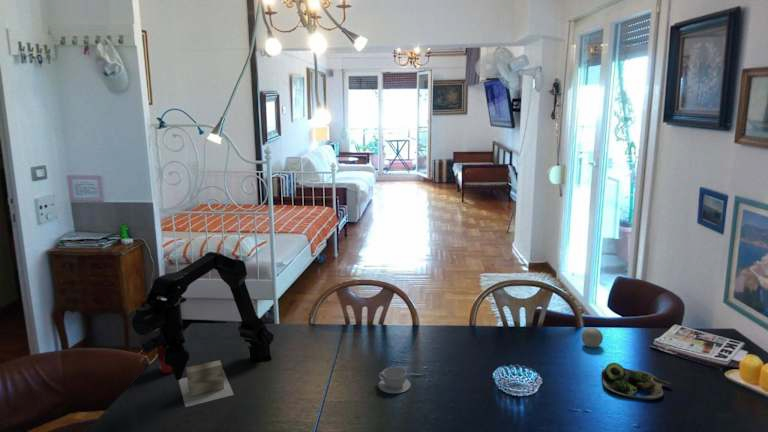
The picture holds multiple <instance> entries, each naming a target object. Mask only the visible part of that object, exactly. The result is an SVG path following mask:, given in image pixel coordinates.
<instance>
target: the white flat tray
mask: <svg viewBox="0 0 768 432" xmlns="http://www.w3.org/2000/svg"><path fill="white" fill-rule="evenodd" d="M222 371H223V381H224V389H222V390H218V391H214V392H210V393H206V394H201V395H197V396H193V397H190V394H189V389H188V380H187V376H186V377H181V379H180V380H178V383H179V389H180V392H181V395H182V400H183V404H184V407H185V408H189V407H192V406H195V405H200V404H203V403H207V402H212V401H216V400H219V399H224V398H227V397H230V396H234V395H235V394H234V391H233V389H232V386H231V384H230V383H229V380H228V377H227V375H226V372H225V370H224V369H223V368H222Z"/></svg>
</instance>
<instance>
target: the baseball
mask: <svg viewBox="0 0 768 432" xmlns="http://www.w3.org/2000/svg"><path fill="white" fill-rule="evenodd" d="M603 340H604V335H603V333H602V332H601V330H599V329H598V328H596V327H587V328H586V329H584V330H583V331H582V333H581V341H582V343H583V344H584V345H585V346H586V347H588V348H592V349H593V348H597V347H599V346H601V344H602V343H603Z"/></svg>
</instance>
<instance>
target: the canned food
mask: <svg viewBox="0 0 768 432" xmlns="http://www.w3.org/2000/svg"><path fill="white" fill-rule="evenodd" d="M165 350H166V348H165V347H164V348H162V345H161V346H159V347H158V348H156V352H157V353H156V354H157V360H158V366H159V367H158V368H159V371H160V372H161V373H162V374H167V375H168V374H169V375H170V374H174V372H173V370H172V367H171V366H169V365H166V364H165V362H164V355H163V353H164V351H165Z"/></svg>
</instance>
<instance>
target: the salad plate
mask: <svg viewBox="0 0 768 432" xmlns="http://www.w3.org/2000/svg"><path fill="white" fill-rule="evenodd" d="M600 376H601V377H600V378H601V383H602V387H603V389H605V391H606V392H607V393H608V394H611V395H612V396H615V397H620V398H624V399H634V400H656V399H660V398H661V397H663V396H664V391H663V388H662V387H666V386H671V385H672V384H671V382H669V381H665V380H664V379H663V380H662V379H660V378H657V377H656V376H655V375H653V374H652V373H649V372H647V371H644V370H638V369H628V368H625V367H623V365H621V364H620V363H617V362H610V363H609V364H607V365H606V367H605V368H604V369H603V370H602V371H601V374H600ZM639 391H643V392H645V391H647V392H649V393H650V394H649V395H645V396H638V395H635V394H636V393H637V392H639Z"/></svg>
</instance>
